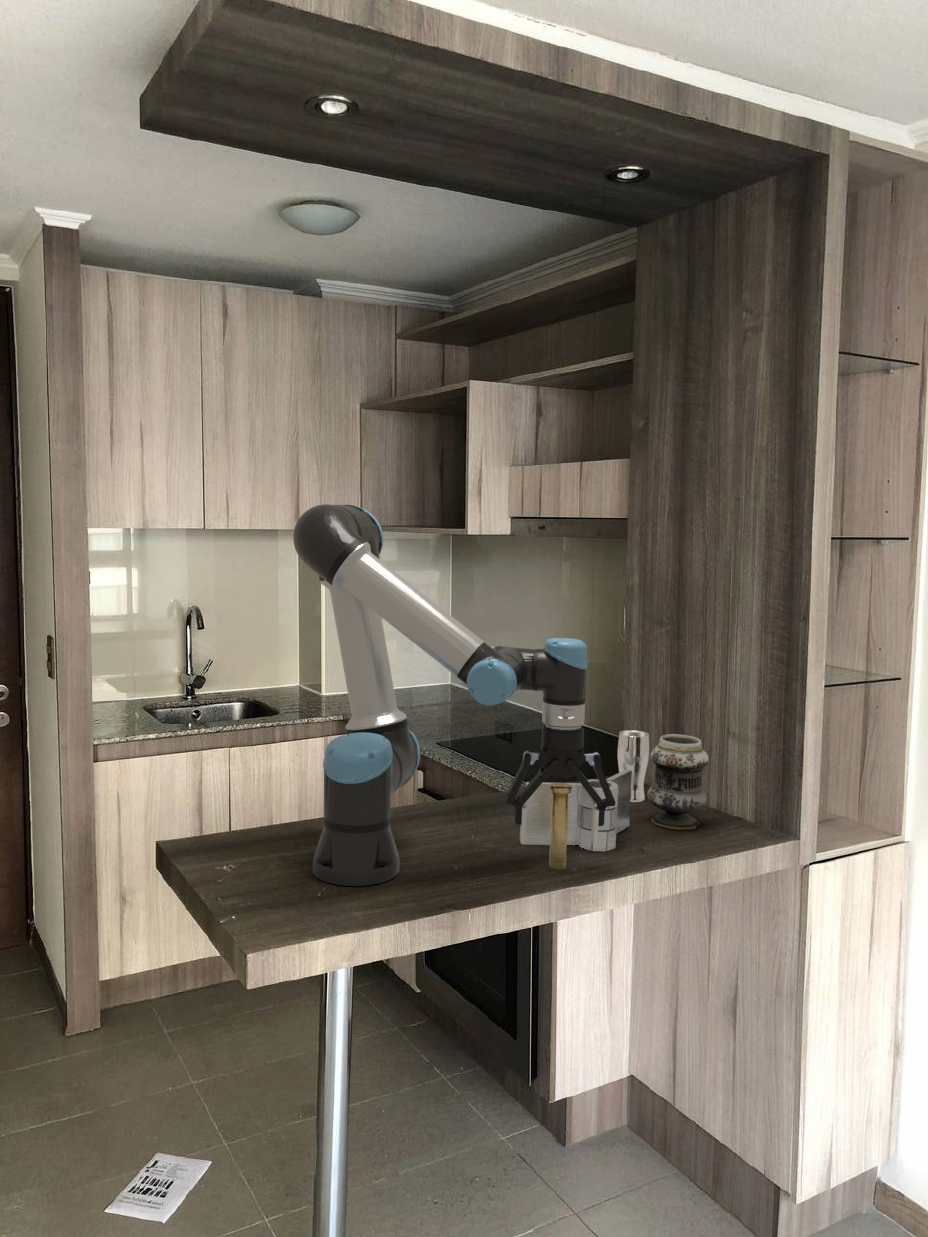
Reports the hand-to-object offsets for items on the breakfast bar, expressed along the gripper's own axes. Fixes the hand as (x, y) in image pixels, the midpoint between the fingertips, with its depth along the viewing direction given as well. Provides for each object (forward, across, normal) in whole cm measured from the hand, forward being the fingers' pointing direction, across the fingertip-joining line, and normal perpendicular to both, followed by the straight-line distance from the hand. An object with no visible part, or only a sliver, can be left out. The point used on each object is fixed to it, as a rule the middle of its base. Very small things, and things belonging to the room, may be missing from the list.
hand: (558, 842), depth 177 cm
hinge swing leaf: (+4, +12, +16) cm, 21 cm away
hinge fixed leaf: (+4, +4, +12) cm, 13 cm away
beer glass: (+5, +22, +44) cm, 49 cm away
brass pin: (+4, 0, 0) cm, 4 cm away
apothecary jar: (+5, +28, +27) cm, 39 cm away
